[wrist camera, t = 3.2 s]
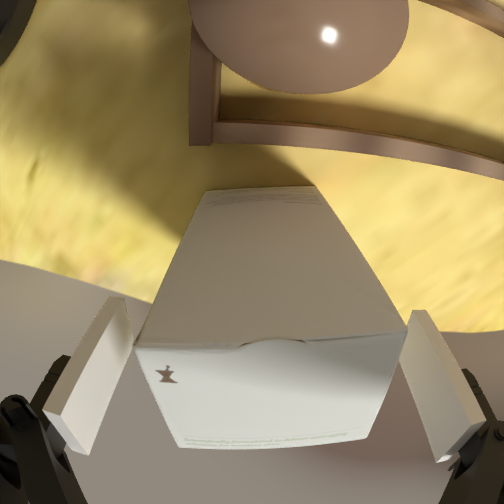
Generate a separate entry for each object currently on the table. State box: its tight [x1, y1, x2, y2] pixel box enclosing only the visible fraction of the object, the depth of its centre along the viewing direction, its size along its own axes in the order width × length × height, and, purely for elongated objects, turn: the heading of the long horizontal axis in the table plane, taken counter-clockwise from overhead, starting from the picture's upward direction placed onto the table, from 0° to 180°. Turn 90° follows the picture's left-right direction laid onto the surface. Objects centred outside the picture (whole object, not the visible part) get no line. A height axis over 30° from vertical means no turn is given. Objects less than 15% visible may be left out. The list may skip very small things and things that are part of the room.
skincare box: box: [132, 186, 408, 449], centre depth 16 cm, size 8×7×16 cm
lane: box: [189, 0, 504, 181], centre depth 15 cm, size 33×13×5 cm, turn 88°
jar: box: [189, 0, 409, 94], centre depth 12 cm, size 7×7×11 cm
